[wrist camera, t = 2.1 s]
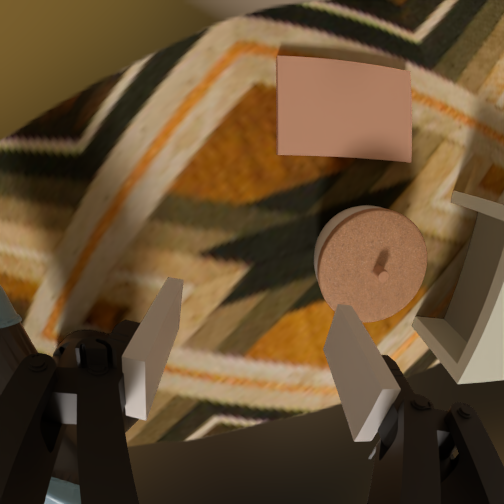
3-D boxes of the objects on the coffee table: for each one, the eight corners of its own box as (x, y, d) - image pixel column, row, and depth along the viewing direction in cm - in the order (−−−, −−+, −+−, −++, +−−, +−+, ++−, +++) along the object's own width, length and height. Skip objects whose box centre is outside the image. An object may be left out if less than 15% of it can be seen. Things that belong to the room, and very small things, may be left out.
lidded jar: (394, 192, 33) (438, 207, 24) (395, 282, 36) (431, 319, 27) (299, 202, 33) (318, 221, 24) (308, 296, 36) (325, 341, 27)
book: (276, 154, 32) (278, 154, 30) (275, 62, 29) (277, 55, 27) (401, 161, 32) (411, 162, 30) (400, 75, 29) (410, 71, 27)
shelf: (411, 326, 38) (457, 383, 26) (453, 190, 33) (524, 211, 21) (473, 330, 39) (519, 377, 27) (512, 212, 33) (576, 237, 21)
